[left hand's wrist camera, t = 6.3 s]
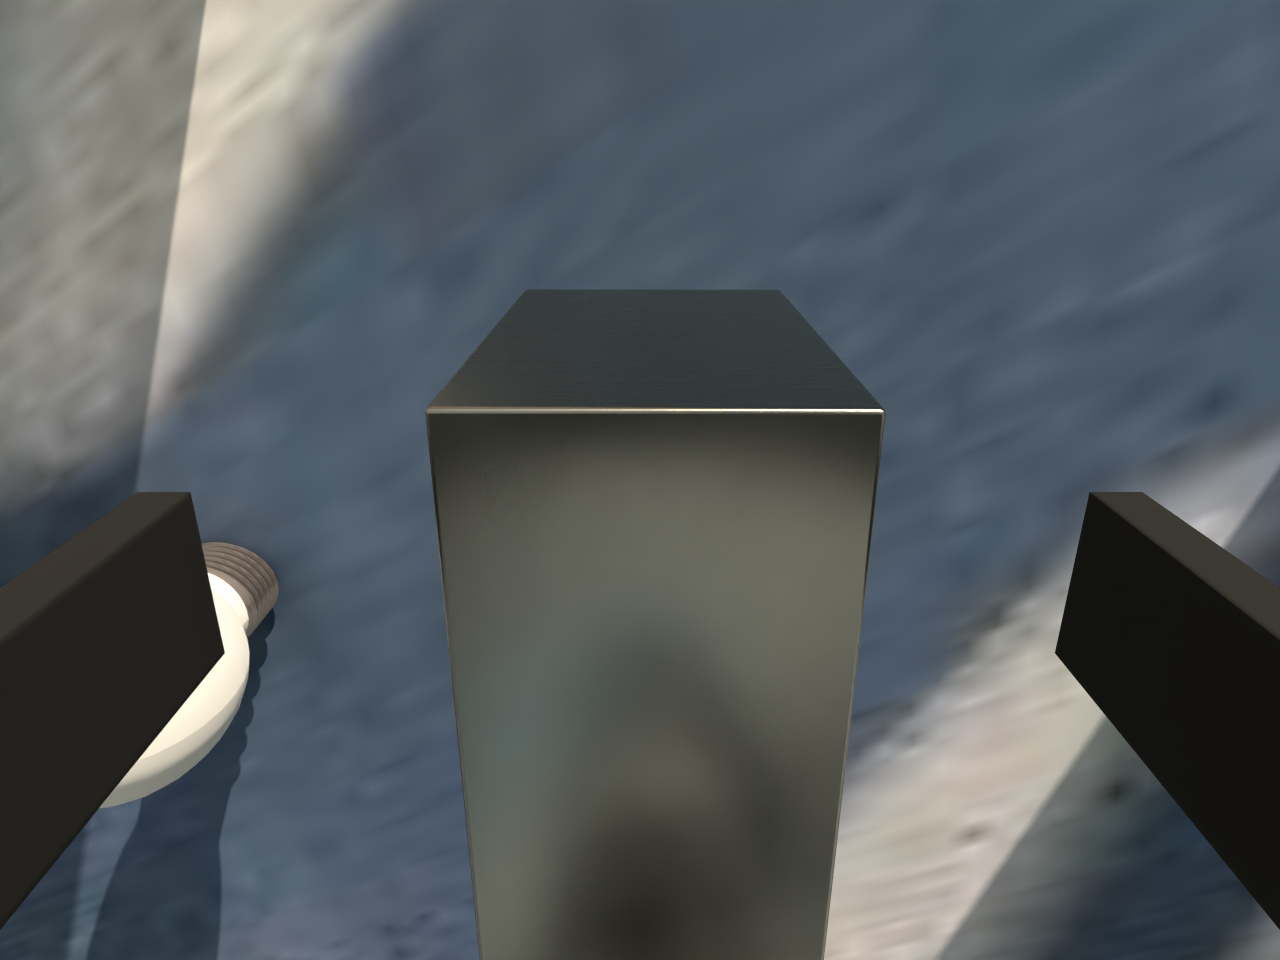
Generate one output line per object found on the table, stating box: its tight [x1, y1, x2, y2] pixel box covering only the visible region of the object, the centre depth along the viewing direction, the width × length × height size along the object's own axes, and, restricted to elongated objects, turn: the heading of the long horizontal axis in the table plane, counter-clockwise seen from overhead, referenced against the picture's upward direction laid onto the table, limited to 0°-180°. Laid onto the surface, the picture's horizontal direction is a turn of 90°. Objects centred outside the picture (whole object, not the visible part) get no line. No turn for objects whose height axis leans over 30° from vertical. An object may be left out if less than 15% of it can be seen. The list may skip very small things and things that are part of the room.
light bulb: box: [99, 542, 279, 808], centre depth 29 cm, size 7×7×11 cm
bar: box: [425, 290, 886, 960], centre depth 19 cm, size 26×6×9 cm, turn 0°
